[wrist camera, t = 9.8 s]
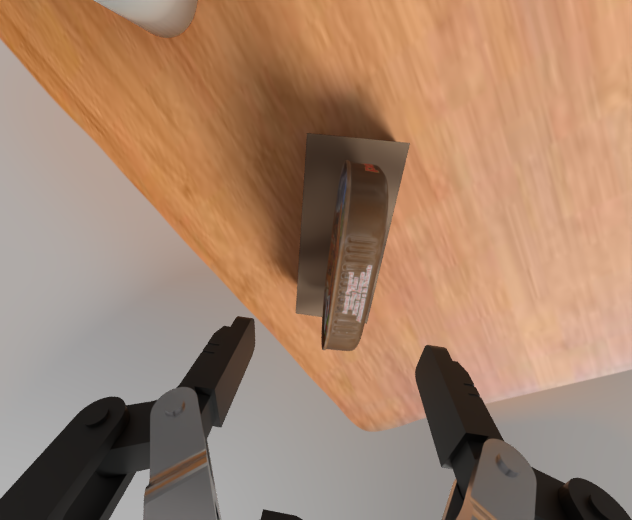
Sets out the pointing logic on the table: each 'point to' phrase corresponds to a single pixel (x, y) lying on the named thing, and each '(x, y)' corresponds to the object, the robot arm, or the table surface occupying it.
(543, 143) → the table surface
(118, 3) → the white rounded capsule
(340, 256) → the tin
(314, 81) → the table surface
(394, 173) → the brown rectangular block
